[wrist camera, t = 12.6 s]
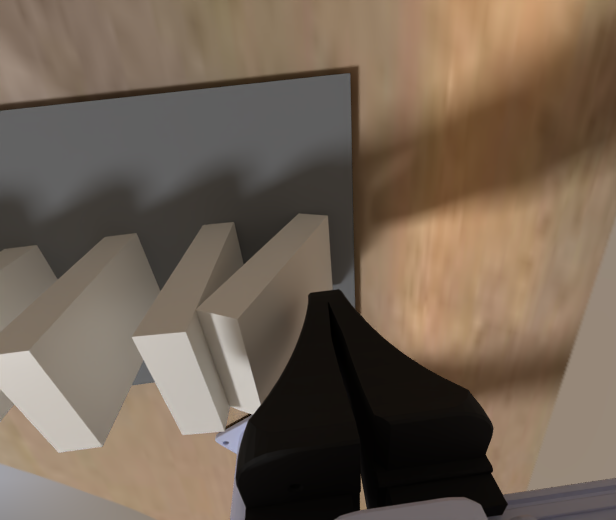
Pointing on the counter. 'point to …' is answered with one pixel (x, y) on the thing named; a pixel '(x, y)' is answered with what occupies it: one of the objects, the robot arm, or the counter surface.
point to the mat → (180, 172)
